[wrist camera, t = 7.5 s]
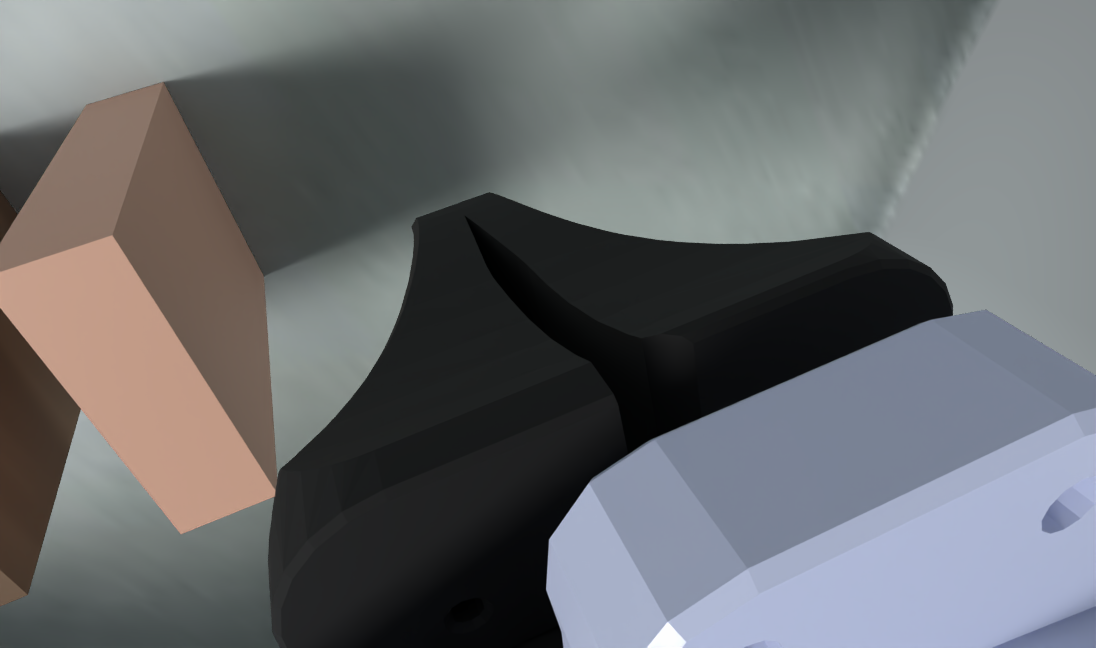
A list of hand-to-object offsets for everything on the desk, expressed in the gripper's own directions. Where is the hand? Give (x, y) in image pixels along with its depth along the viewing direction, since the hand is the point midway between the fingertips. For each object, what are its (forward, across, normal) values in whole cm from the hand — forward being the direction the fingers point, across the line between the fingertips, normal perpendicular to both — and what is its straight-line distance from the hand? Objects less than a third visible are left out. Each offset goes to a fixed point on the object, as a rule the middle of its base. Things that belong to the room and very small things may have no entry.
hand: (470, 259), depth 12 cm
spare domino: (+7, +5, 0) cm, 9 cm away
